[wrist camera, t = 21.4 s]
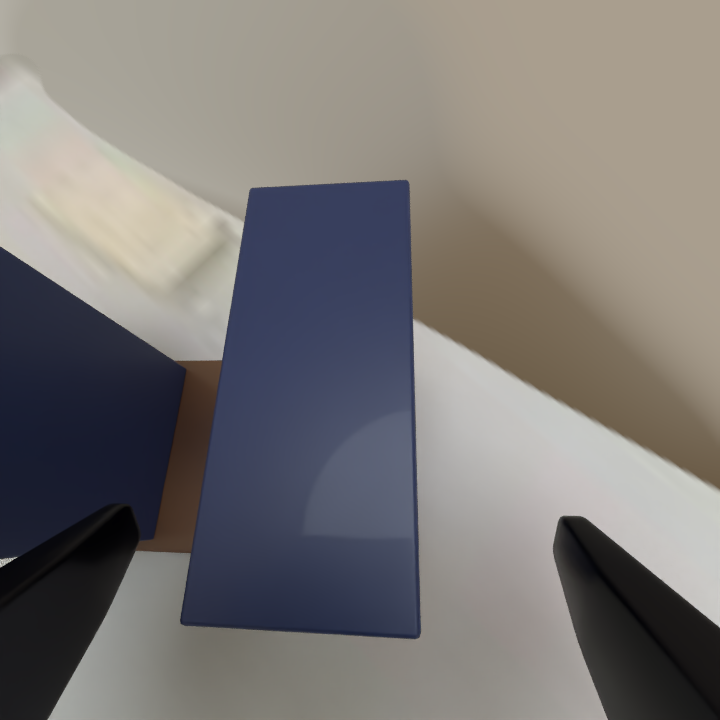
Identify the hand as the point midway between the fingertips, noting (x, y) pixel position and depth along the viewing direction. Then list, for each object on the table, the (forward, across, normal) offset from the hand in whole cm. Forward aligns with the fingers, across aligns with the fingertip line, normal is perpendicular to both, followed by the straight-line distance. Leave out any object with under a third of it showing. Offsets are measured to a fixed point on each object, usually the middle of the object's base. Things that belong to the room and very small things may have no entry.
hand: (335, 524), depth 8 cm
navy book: (+8, 0, +4) cm, 8 cm away
